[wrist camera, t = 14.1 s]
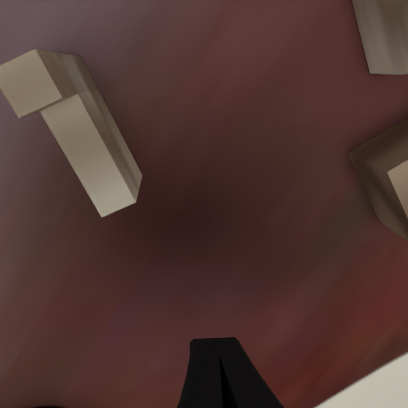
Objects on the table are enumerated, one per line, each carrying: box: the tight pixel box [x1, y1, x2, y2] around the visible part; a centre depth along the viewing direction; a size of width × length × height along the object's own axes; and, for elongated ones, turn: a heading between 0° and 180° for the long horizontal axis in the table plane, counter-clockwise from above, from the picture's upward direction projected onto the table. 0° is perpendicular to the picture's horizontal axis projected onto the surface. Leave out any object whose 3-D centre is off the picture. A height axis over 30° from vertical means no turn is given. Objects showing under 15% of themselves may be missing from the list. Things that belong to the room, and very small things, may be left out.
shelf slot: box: [0, 0, 408, 217], centre depth 14 cm, size 6×15×6 cm, turn 113°
